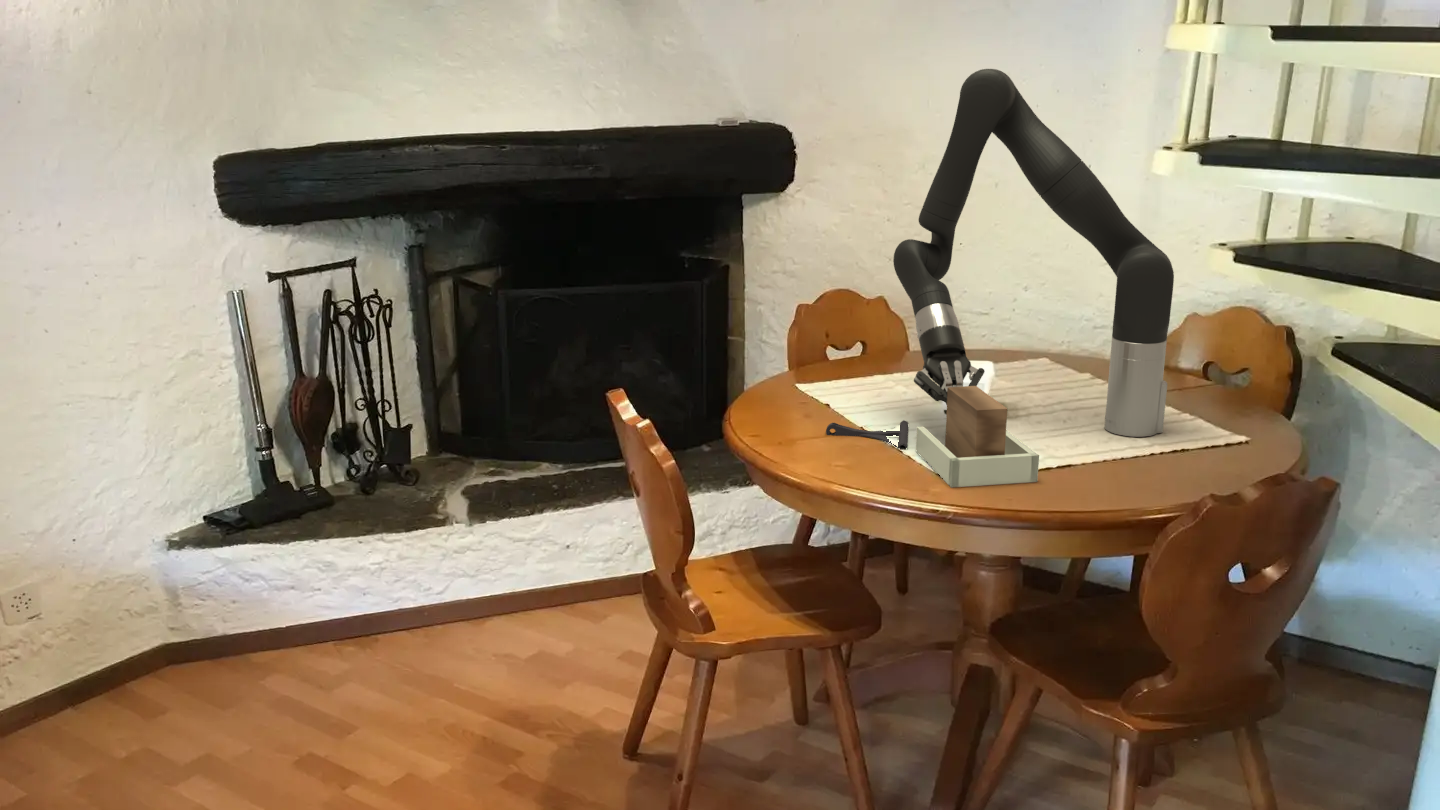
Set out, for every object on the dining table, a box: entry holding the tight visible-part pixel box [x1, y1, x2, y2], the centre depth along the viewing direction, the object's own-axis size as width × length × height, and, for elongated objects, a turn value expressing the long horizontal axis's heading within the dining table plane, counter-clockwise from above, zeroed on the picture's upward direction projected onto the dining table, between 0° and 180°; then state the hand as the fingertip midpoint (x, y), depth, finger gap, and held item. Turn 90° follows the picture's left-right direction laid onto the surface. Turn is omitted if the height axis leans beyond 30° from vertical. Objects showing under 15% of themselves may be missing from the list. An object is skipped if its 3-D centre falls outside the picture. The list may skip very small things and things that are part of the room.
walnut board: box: [944, 385, 1008, 458], centre depth 185 cm, size 5×14×12 cm, turn 8°
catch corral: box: [915, 426, 1040, 488], centre depth 186 cm, size 14×18×4 cm
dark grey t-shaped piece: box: [825, 419, 909, 449], centre depth 203 cm, size 14×15×3 cm
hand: (959, 419), depth 192 cm, fingers closed
